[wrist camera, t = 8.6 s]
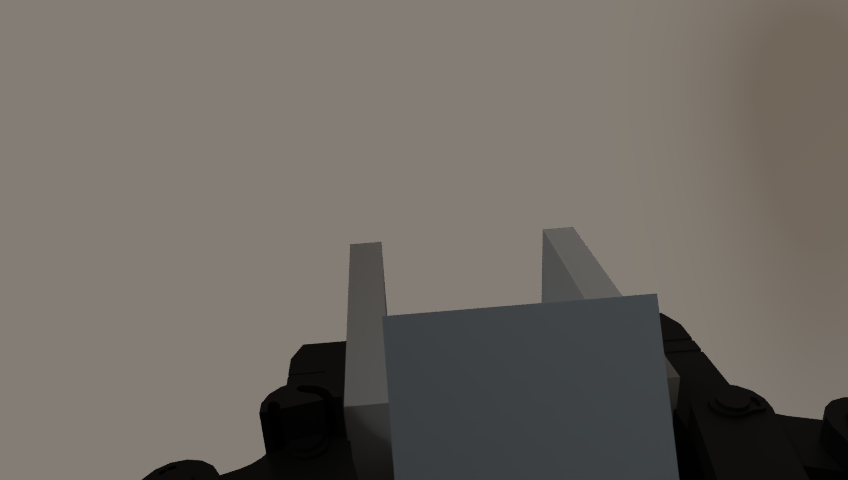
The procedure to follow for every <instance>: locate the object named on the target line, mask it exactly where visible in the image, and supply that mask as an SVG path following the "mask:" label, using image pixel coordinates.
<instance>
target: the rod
mask: <svg viewBox="0 0 848 480" xmlns="http://www.w3.org/2000/svg"><path fill="white" fill-rule="evenodd" d="M382 322H383V335H384V348H385V362H386V375H387V388H388V401H389V414H390V428H391V441H392V454H393V467H394V480H679V473H678V464H677V456H676V448H675V439H674V431H673V423H672V414H671V406H670V398H669V390H668V381H667V373H666V365H665V356H664V348H663V340H662V332H661V323H660V315H659V307H658V298H657V294H646V295H635V296H622V297H610V298H598V299H586V300H574V301H562V302H550V303H538V304H526V305H515V306H501V307H490V308H477V309H465V310H454V311H441V312H430V313H417V314H405V315H393V316H382Z"/></svg>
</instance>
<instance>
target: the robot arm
mask: <svg viewBox="0 0 848 480" xmlns="http://www.w3.org/2000/svg"><path fill="white" fill-rule="evenodd" d="M542 258H543V259H542V303H550V302H562V301H574V300H586V299H598V298H610V297H622V295H621V294H620V292H619V291H618V289H617V288H616V287H615V285H614V284H613V282H612V281H611V280H610V278H609V277H608V275H607V274H606V273H605V271H604V270H603V268H602V267H601V266H600V264H599V263H598V261H597V260H596V259H595V257H594V256H593V255H592V253H591V252H590V250H589V249H588V247H587V246H586V245H585V243H584V242H583V240H582V239H581V238H580V236H579V235H578V234H577V232H576V231H575V229H574V228H573V227H569V228H557V229H544V230H543V256H542ZM349 266H350V268H349V291H348V315H347V340H346V341H342V342H330V343H318V344H306V345H303V346H302V347H301V348H300V349H299V350H298V351H297V353H296V354H295V355H294V356H293V357H292V359H291V363H290V369H289V377H288V380H287V385H286V386H283V387H280V388H279V389H277V390H275V391H274V392H272V393H270V394H269V395H268V396H267V397H266V399H265V400H264V401H263V402H262V403H261V408H260V413H259V414H260V420H261V426H262V432H263V437H264V443H265V448H266V455H265V456H263V457H262V458H261V459H259V460H257V461H256V462H254V463H252V464H251V465H248V466H246V467H243V468H241V469H238V470H235V471H232V472H229V473H226V474H223V475H219V473H218V472H217V471H216V469H215V468H214V466H213V465H210V464H208V463H206V462H204V461H200V460H183V461H178V462H172V463H169V464H167V465H165V466H163V467H160V468H158V469H156V470H154V471H153V472H151V473H150V474H149V475H147V476H146V477H145V478H143V479H142V480H394V467H393V454H392V441H391V428H390V414H389V401H388V388H387V375H386V362H385V348H384V335H383V322H382V316H387V307H386V295H385V282H384V270H383V257H382V245H381V242H375V243H363V244H351V245H350V265H349ZM659 315H660V323H661V332H662V340H663V348H664V356H665V365H666V373H667V381H668V390H669V398H670V406H671V414H672V423H673V431H674V439H675V448H676V456H677V464H678V473H679V480H848V397H844V398H840V399H836V400H833V401H831V402H830V403H829V404H828V405H827V406H826V407H825V411H824V415H823V420H818V419H809V418H800V417H792V416H785V415H780V414H775V412H774V410H773V408H772V407H771V406H770V404H769V403H768V402H767V401H766V400H765V399H764V398H763V397H761V396H760V395H758V394H756V393H755V392H753V391H751V390H748V389H745V388H742V387H739V386H735V385H730V384H729V383H728V382H727V381H726V380H725V378H724V377H723V376H722V375H721V373H720V372H719V371H718V370H717V368H716V367H715V366H714V365H713V364H712V362H711V361H710V360H709V359H708V357H707V356H706V355H705V354H704V352H701V349H700V348H699V346H698V345H697V344H696V343H695V341H692V338H691V336H690V335H689V334H688V333H687V332H686V330H685V329H684V328H683V327H682V325H681V324H679V323H678V322H676V321H674V320H673V319H671V318H669V317H667V316H666V315H664V314H662V313H659Z"/></svg>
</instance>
